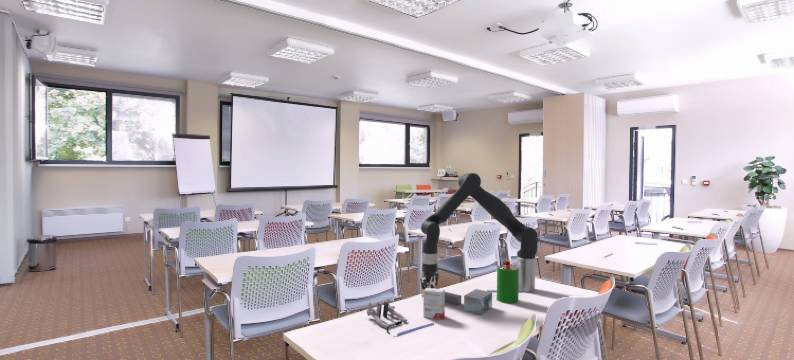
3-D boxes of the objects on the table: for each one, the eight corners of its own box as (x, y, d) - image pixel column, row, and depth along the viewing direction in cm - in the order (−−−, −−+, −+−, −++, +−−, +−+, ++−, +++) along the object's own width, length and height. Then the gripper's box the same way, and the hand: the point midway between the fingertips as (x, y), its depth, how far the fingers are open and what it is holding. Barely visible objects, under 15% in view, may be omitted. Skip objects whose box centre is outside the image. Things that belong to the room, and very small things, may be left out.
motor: (516, 297, 201) (517, 257, 200) (520, 303, 192) (521, 261, 191) (495, 296, 202) (496, 256, 201) (498, 303, 193) (499, 261, 192)
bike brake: (362, 316, 173) (388, 339, 157) (364, 301, 172) (390, 323, 156) (388, 310, 181) (416, 332, 165) (390, 295, 180) (418, 316, 164)
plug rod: (425, 295, 204) (425, 287, 204) (461, 303, 192) (461, 295, 192) (421, 297, 201) (421, 289, 201) (457, 305, 189) (457, 297, 189)
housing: (475, 303, 192) (476, 289, 192) (491, 307, 187) (492, 292, 187) (463, 310, 182) (464, 295, 182) (480, 315, 178) (480, 299, 177)
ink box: (445, 316, 176) (445, 289, 176) (442, 320, 172) (443, 292, 171) (426, 313, 179) (426, 287, 179) (423, 317, 174) (423, 290, 174)
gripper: (428, 265, 192) (428, 301, 192) (443, 260, 203) (443, 294, 204) (415, 263, 196) (415, 298, 197) (431, 258, 208) (430, 291, 208)
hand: (429, 296), depth 200 cm, fingers open, 3 cm apart
